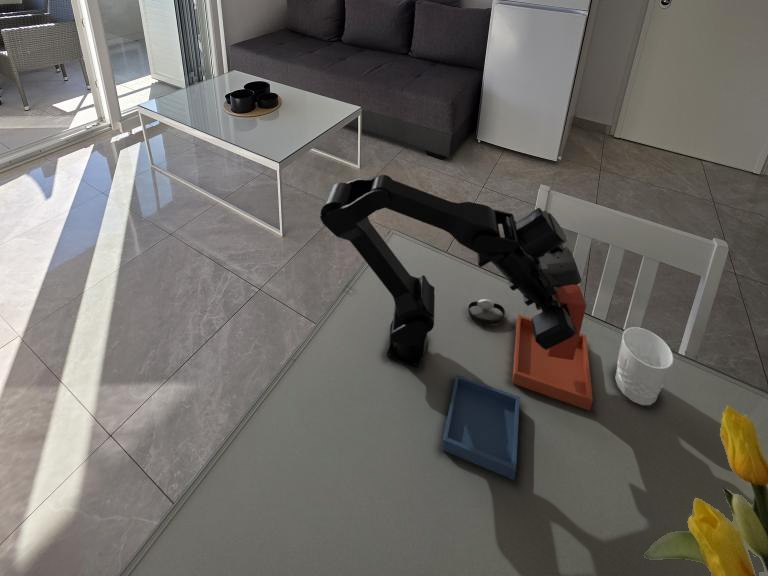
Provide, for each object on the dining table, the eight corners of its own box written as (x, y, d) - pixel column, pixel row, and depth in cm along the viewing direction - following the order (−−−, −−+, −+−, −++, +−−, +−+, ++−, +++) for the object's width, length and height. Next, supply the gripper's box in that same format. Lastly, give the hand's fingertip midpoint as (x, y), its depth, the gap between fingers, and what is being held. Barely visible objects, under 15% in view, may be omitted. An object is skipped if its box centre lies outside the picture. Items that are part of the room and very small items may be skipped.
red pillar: (547, 356, 78) (559, 301, 74) (542, 334, 82) (553, 281, 78) (573, 360, 78) (586, 305, 74) (566, 337, 82) (578, 284, 78)
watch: (501, 309, 94) (503, 296, 93) (505, 328, 90) (507, 315, 89) (466, 306, 95) (468, 293, 94) (468, 324, 90) (470, 311, 89)
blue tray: (442, 450, 69) (443, 439, 68) (455, 383, 79) (456, 373, 78) (514, 480, 65) (516, 469, 65) (517, 406, 75) (519, 396, 75)
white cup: (667, 414, 75) (681, 373, 72) (619, 403, 76) (631, 363, 73) (650, 370, 82) (662, 331, 79) (606, 361, 84) (616, 323, 80)
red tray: (512, 383, 79) (514, 373, 78) (516, 324, 91) (518, 314, 90) (590, 410, 75) (592, 400, 74) (583, 345, 87) (586, 335, 86)
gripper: (571, 286, 64) (632, 351, 67) (543, 208, 82) (592, 262, 84) (510, 318, 68) (571, 379, 70) (496, 237, 85) (545, 288, 87)
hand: (571, 321), depth 78 cm, fingers closed on red pillar, 4 cm apart
